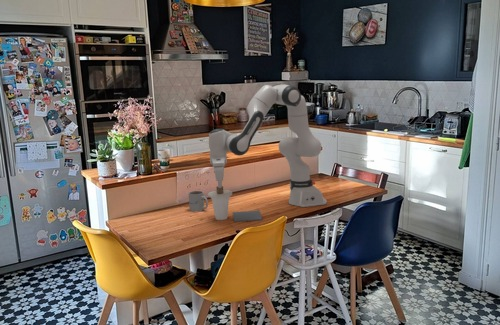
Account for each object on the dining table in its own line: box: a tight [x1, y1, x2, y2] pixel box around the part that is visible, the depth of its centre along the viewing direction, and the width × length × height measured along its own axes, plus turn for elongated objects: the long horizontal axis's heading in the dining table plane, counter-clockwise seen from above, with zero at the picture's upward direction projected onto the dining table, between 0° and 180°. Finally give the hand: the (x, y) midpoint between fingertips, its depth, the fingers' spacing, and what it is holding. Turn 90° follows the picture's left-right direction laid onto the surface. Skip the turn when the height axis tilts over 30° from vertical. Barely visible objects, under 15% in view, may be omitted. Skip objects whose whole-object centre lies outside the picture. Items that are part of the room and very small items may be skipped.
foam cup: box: [210, 197, 230, 221], centre depth 231 cm, size 10×9×13 cm
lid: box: [207, 185, 233, 199], centre depth 229 cm, size 13×13×4 cm
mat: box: [232, 210, 263, 223], centre depth 233 cm, size 15×15×1 cm
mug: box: [188, 190, 209, 213], centre depth 247 cm, size 12×9×10 cm
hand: (219, 185), depth 229 cm, fingers open, 8 cm apart
